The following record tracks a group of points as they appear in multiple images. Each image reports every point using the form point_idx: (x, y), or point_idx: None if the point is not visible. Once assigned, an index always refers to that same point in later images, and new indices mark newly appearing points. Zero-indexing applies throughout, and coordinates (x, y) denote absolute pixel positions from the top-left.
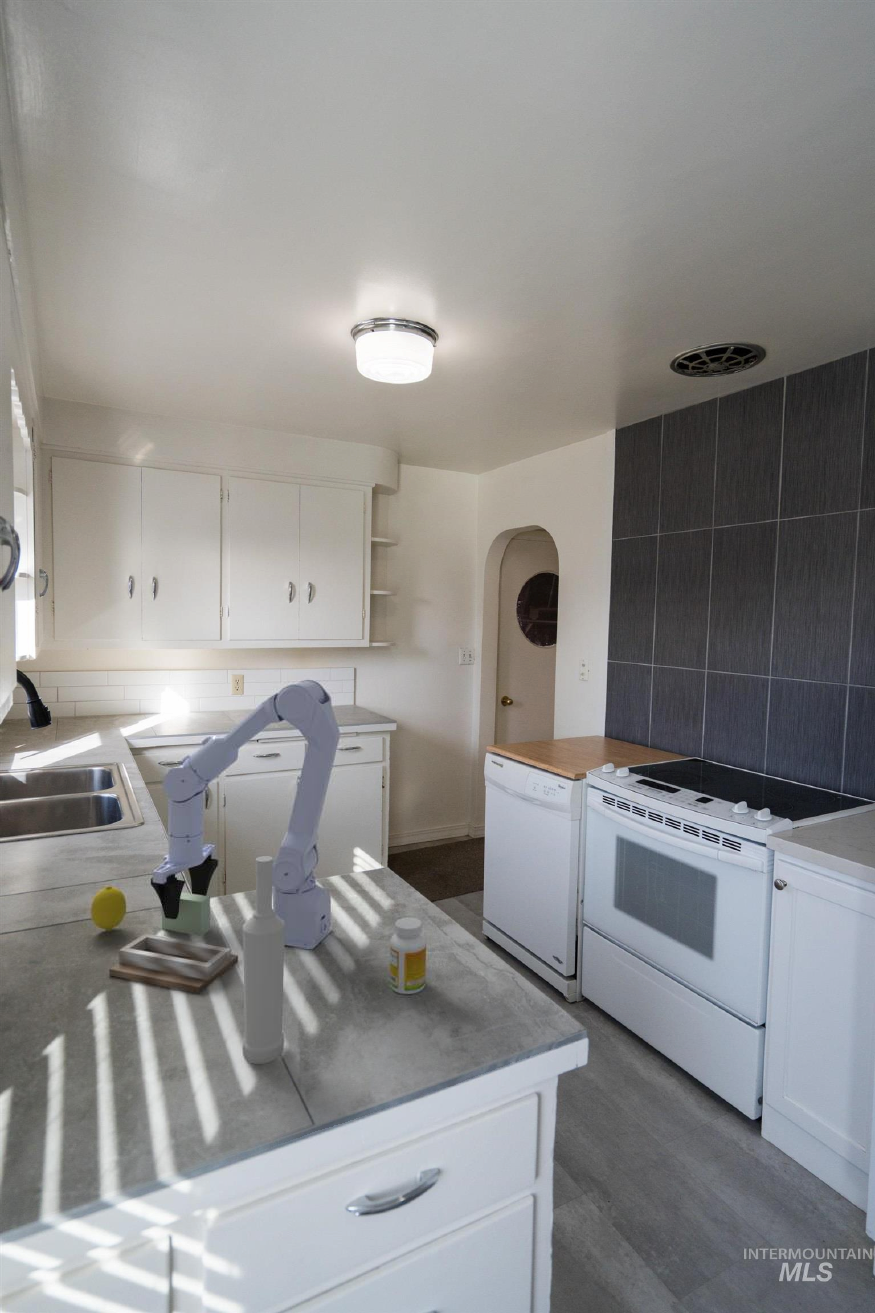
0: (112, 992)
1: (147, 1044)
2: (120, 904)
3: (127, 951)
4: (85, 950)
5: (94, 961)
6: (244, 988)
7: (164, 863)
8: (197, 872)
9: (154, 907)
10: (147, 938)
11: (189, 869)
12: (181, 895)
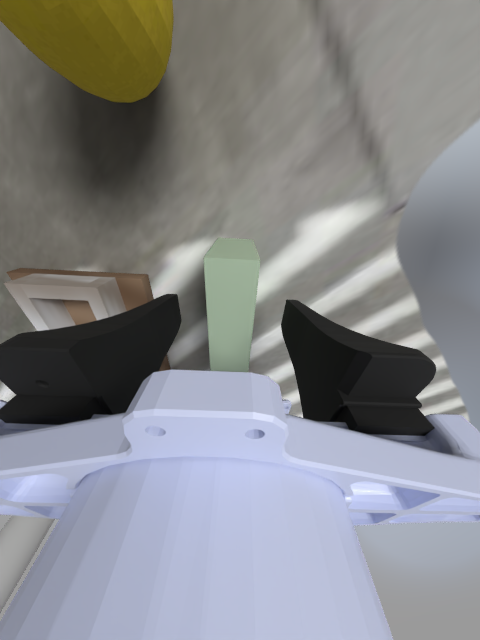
0: (6, 308)
1: (7, 393)
2: (68, 61)
3: (19, 304)
4: (9, 87)
5: (12, 185)
6: (8, 520)
7: (26, 467)
8: (314, 370)
9: (354, 87)
10: (90, 301)
11: (332, 344)
12: (230, 318)
